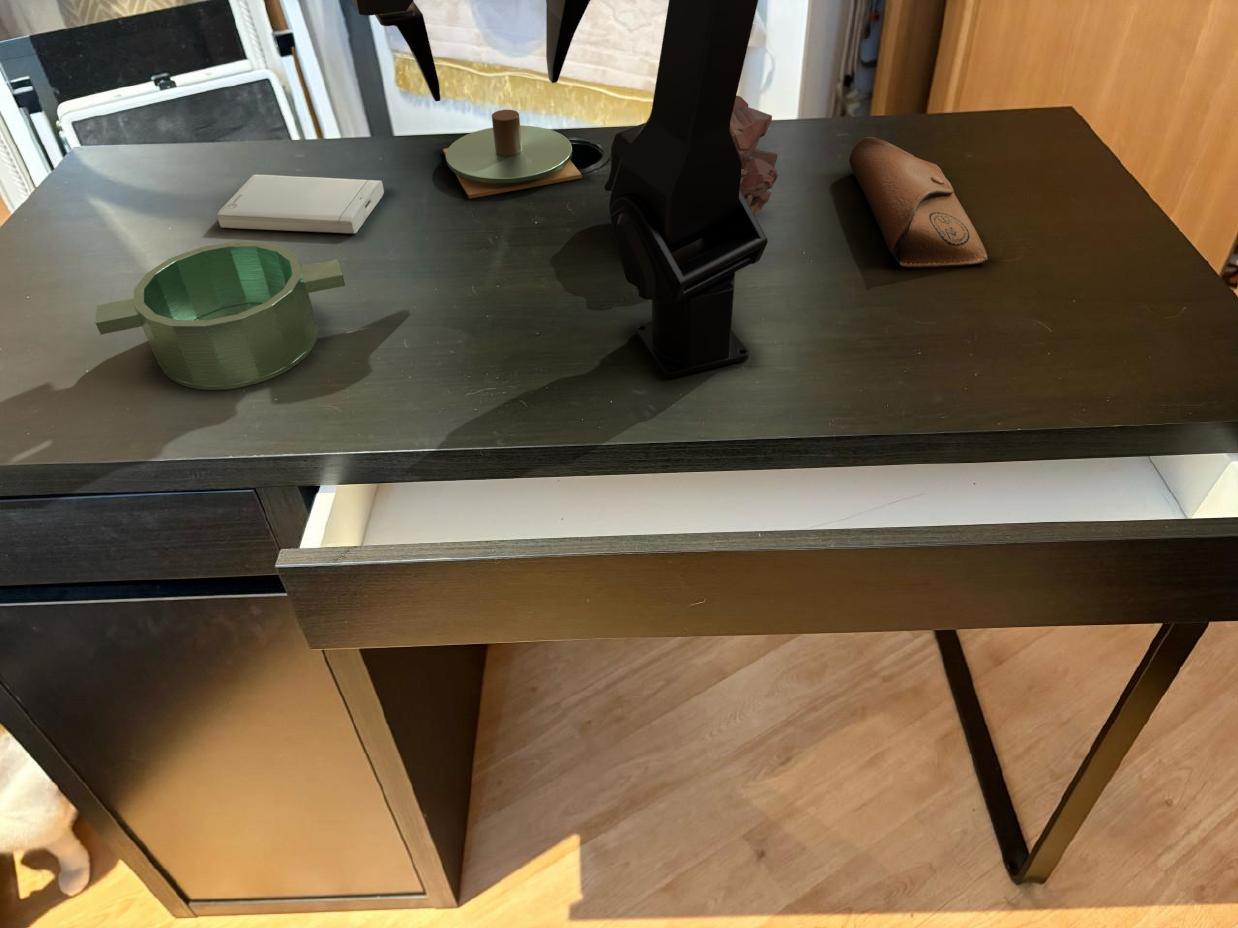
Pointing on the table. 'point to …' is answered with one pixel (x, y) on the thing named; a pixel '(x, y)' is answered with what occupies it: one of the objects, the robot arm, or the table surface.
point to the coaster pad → (484, 188)
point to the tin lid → (508, 151)
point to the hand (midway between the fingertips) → (495, 90)
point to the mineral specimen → (753, 154)
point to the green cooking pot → (226, 313)
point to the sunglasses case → (915, 208)
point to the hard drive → (301, 204)
